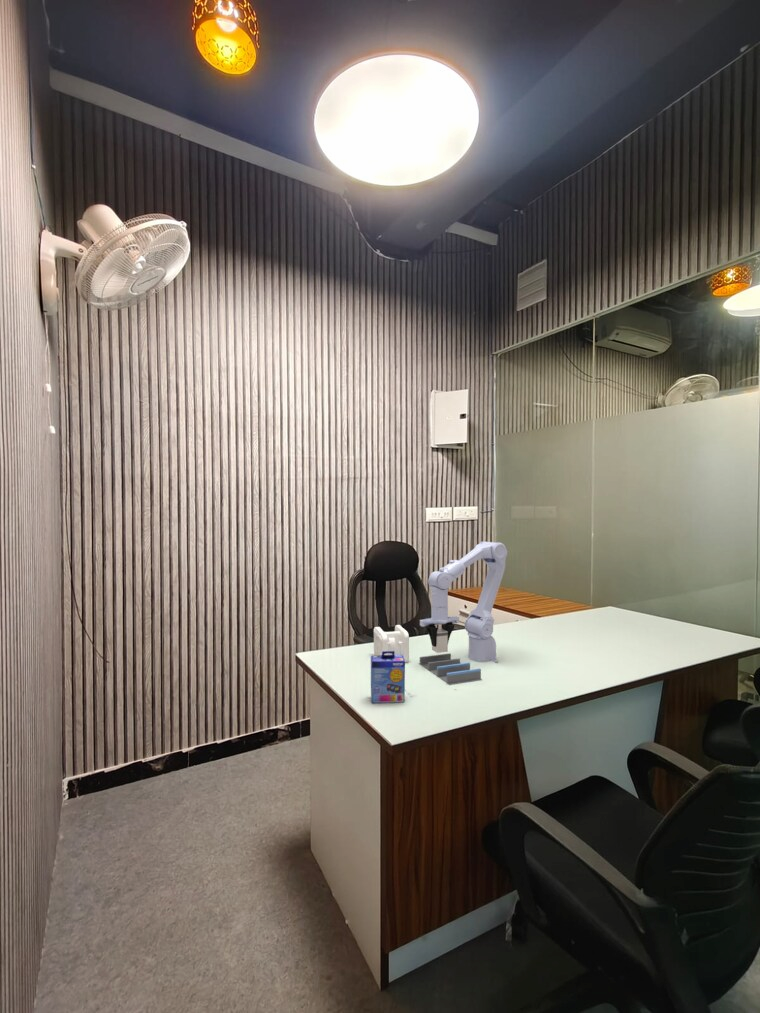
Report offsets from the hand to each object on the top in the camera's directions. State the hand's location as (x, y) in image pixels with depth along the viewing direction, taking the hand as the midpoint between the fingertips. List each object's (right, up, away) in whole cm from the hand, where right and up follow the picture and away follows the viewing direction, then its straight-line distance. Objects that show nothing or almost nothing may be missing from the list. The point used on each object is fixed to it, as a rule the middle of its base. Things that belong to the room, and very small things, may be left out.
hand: (439, 645), depth 159 cm
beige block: (0, -2, 0) cm, 2 cm away
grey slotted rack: (+2, -8, -6) cm, 10 cm away
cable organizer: (-17, -9, +8) cm, 21 cm away
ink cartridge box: (-19, -8, -27) cm, 34 cm away
